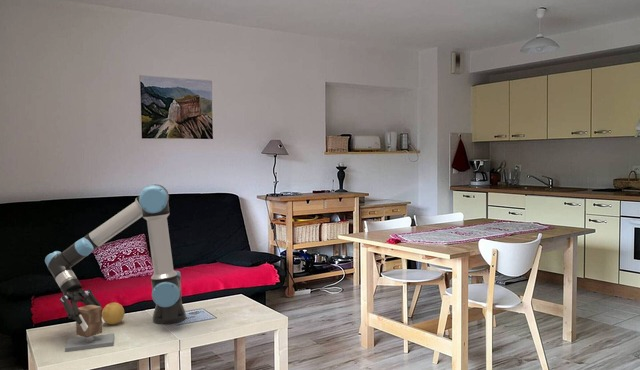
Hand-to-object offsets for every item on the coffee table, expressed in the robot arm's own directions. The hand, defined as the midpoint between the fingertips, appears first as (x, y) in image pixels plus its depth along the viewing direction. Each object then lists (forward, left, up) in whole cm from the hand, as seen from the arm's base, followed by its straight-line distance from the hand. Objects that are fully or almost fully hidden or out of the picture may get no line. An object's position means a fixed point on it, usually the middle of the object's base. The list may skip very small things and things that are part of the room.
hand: (94, 326), depth 220 cm
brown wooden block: (+2, -3, -3) cm, 5 cm away
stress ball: (-6, -29, -8) cm, 30 cm away
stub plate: (+2, -3, -8) cm, 8 cm away
